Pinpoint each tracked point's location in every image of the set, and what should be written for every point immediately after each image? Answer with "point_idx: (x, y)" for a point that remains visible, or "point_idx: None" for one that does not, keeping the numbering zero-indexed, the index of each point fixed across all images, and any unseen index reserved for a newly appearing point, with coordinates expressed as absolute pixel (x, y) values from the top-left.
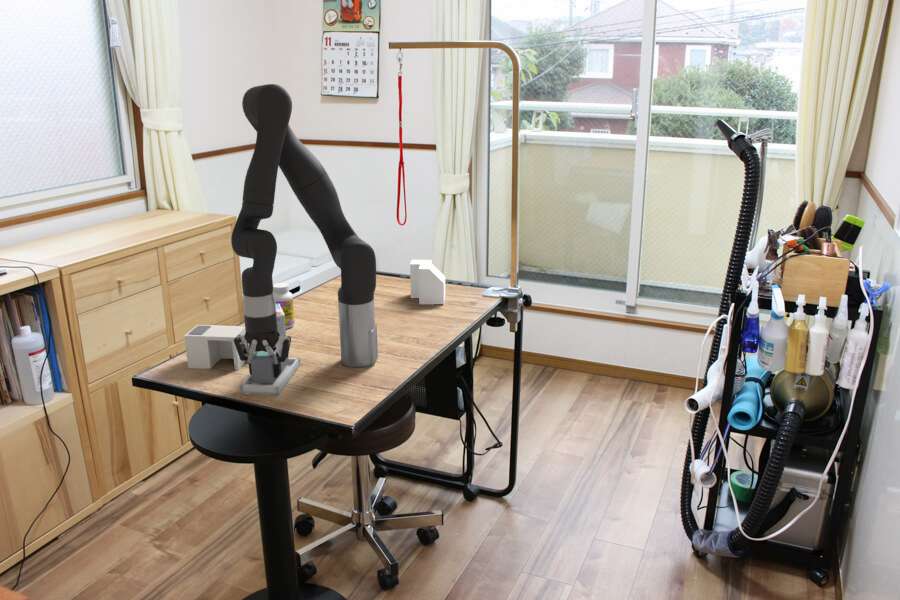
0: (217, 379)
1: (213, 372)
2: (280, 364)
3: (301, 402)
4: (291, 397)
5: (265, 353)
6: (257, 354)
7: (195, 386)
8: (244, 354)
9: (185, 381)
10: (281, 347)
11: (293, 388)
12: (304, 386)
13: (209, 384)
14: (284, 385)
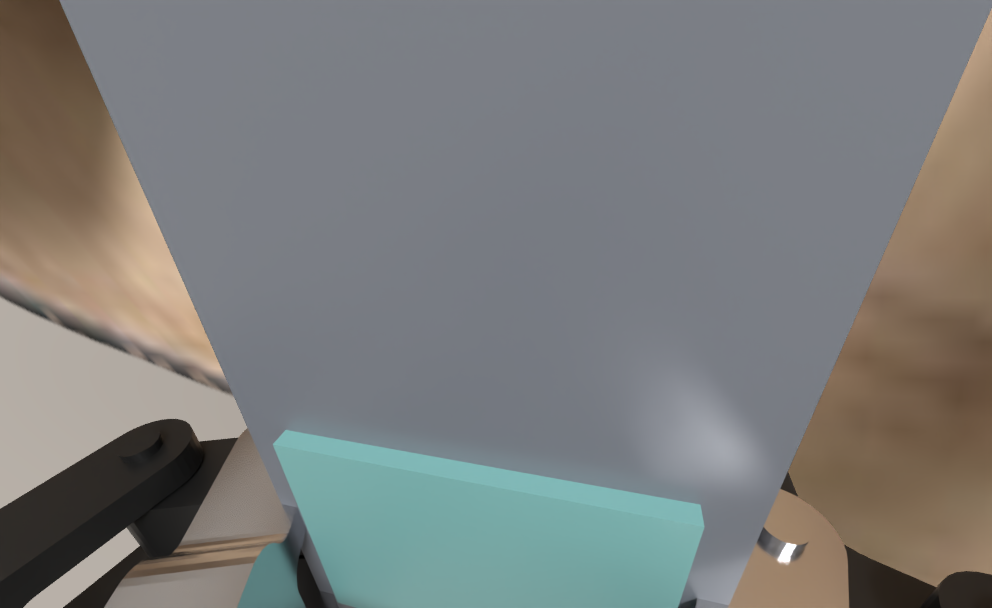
0: (140, 198)
1: (5, 57)
2: (781, 486)
3: (908, 562)
4: (819, 494)
5: (469, 564)
6: (340, 570)
7: (115, 308)
8: (154, 545)
9: (8, 240)
10: (975, 38)
11: (840, 360)
12: (984, 323)
13: (159, 281)
14: None
